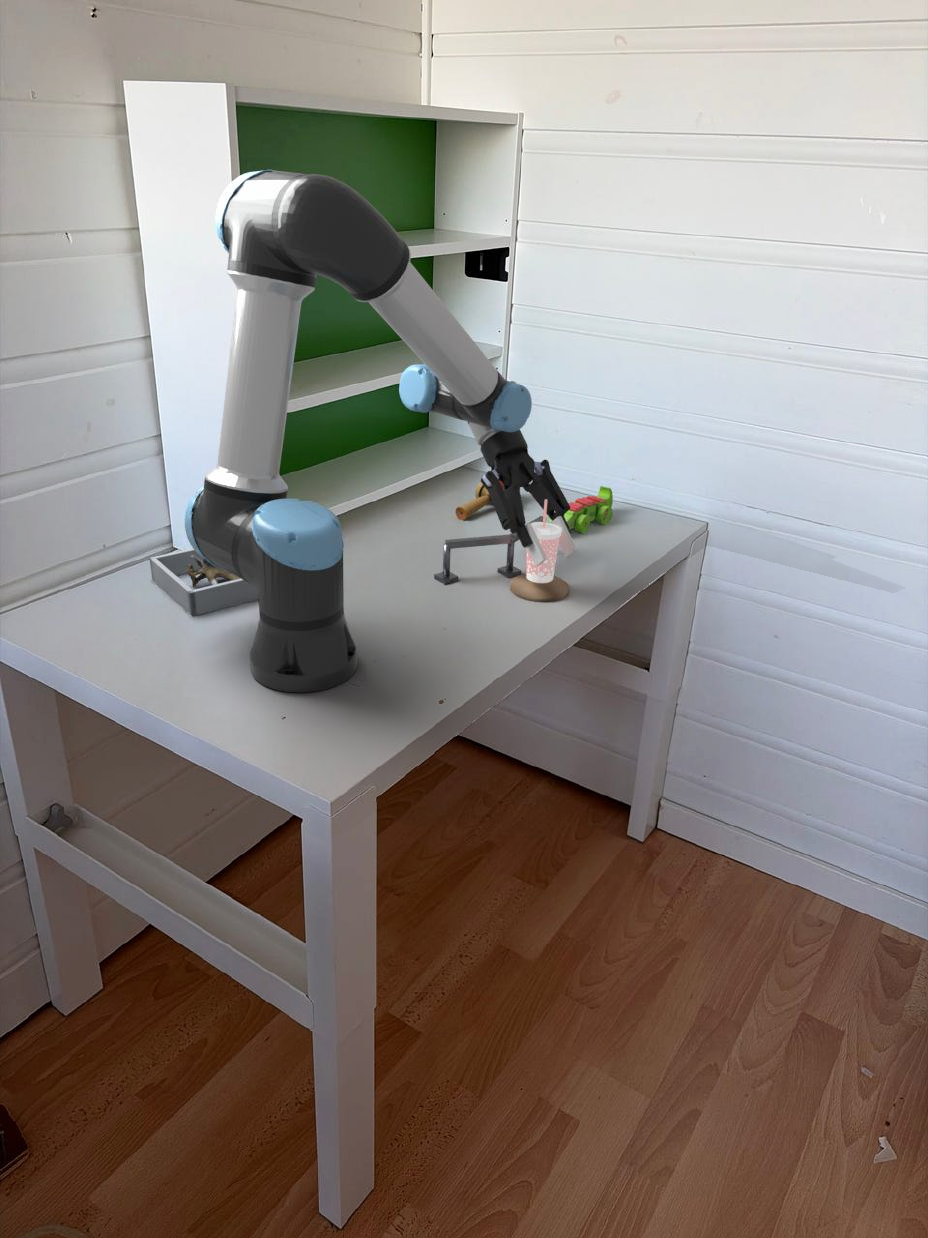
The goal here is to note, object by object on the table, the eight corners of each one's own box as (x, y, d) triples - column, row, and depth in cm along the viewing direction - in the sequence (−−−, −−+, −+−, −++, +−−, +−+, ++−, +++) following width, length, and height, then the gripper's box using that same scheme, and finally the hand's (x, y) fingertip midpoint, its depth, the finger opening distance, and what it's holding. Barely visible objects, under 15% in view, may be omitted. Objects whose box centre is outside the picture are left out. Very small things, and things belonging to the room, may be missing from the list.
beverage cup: (560, 573, 162) (567, 496, 156) (554, 587, 157) (561, 508, 151) (526, 568, 164) (531, 491, 157) (518, 582, 158) (523, 503, 152)
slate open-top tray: (192, 616, 148) (189, 593, 146) (152, 579, 159) (149, 557, 157) (270, 595, 155) (269, 573, 153) (227, 562, 167) (225, 541, 165)
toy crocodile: (564, 542, 181) (567, 512, 179) (538, 532, 185) (540, 503, 183) (622, 518, 195) (626, 490, 192) (596, 509, 199) (599, 482, 196)
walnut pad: (536, 607, 155) (537, 602, 155) (498, 585, 162) (498, 581, 162) (580, 592, 160) (581, 588, 160) (541, 572, 167) (541, 568, 167)
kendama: (479, 531, 188) (531, 498, 200) (473, 502, 185) (526, 470, 197) (450, 528, 193) (502, 495, 205) (444, 499, 190) (497, 468, 202)
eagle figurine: (192, 594, 152) (247, 580, 154) (180, 552, 152) (235, 538, 154) (197, 600, 159) (249, 586, 161) (186, 560, 160) (238, 546, 162)
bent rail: (458, 592, 159) (459, 552, 155) (434, 578, 164) (435, 538, 160) (566, 560, 173) (570, 523, 169) (541, 548, 178) (544, 511, 174)
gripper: (530, 440, 168) (585, 555, 164) (444, 457, 157) (501, 580, 153) (552, 418, 162) (610, 536, 158) (464, 433, 151) (524, 561, 147)
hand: (556, 557), depth 155 cm, fingers closed on beverage cup, 6 cm apart
